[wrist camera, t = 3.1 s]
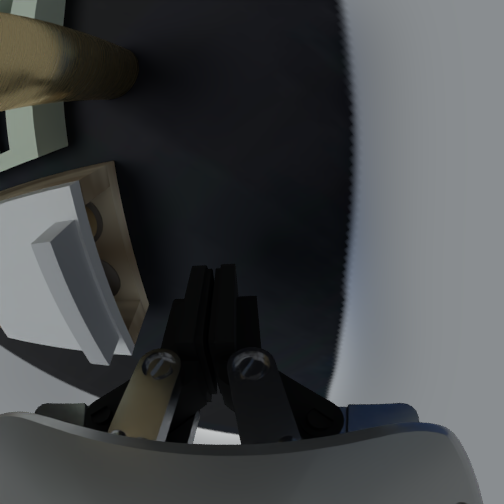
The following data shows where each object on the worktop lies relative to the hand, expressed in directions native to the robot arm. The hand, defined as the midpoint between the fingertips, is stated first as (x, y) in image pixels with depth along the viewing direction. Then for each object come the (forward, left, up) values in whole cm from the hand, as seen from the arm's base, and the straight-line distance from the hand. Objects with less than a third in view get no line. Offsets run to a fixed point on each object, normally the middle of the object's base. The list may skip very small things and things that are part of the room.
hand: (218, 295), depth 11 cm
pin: (-10, -5, -6) cm, 13 cm away
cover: (0, -12, -2) cm, 12 cm away
